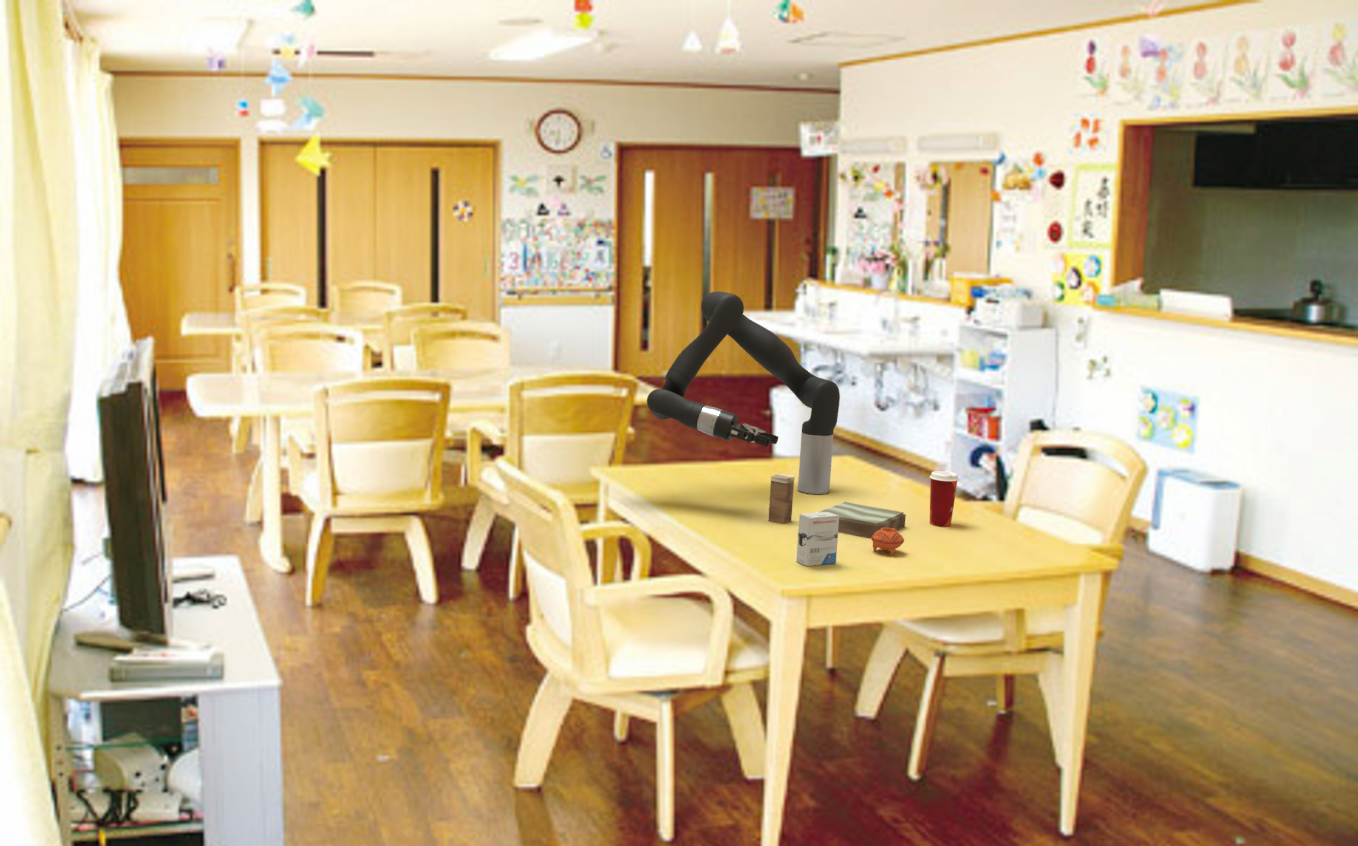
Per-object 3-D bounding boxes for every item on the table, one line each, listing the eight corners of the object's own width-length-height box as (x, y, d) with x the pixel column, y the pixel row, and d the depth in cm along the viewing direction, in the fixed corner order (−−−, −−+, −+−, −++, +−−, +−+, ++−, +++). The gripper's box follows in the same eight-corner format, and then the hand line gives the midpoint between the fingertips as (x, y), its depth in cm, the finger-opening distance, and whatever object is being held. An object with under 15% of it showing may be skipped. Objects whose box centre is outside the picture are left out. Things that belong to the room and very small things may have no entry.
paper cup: (960, 527, 373) (964, 475, 370) (935, 528, 370) (939, 476, 367) (944, 520, 380) (948, 469, 377) (920, 521, 377) (924, 470, 375)
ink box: (825, 558, 333) (828, 510, 331) (836, 563, 329) (840, 515, 327) (795, 561, 329) (798, 513, 327) (806, 566, 325) (809, 517, 323)
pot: (870, 554, 338) (872, 526, 339) (870, 554, 346) (871, 526, 346) (904, 556, 337) (905, 528, 338) (902, 555, 345) (903, 528, 345)
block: (776, 517, 372) (779, 473, 370) (791, 520, 369) (794, 476, 367) (768, 520, 368) (770, 476, 366) (783, 523, 366) (786, 478, 363)
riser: (843, 515, 379) (844, 501, 378) (904, 526, 369) (905, 512, 369) (813, 527, 364) (814, 512, 363) (877, 539, 354) (878, 524, 354)
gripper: (714, 410, 366) (771, 429, 362) (728, 408, 380) (783, 426, 375) (706, 437, 367) (763, 457, 363) (720, 434, 381) (775, 453, 376)
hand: (773, 441), depth 369 cm, fingers open, 8 cm apart
